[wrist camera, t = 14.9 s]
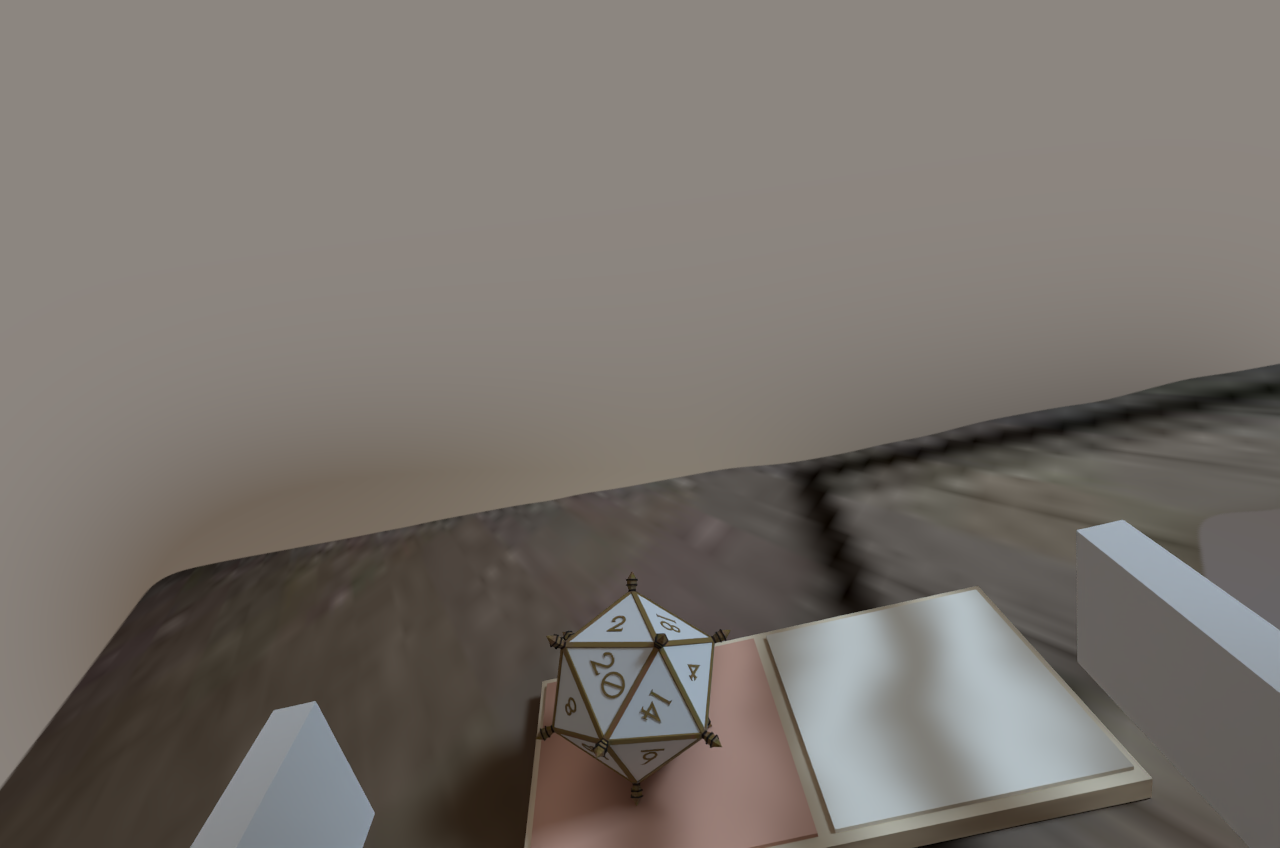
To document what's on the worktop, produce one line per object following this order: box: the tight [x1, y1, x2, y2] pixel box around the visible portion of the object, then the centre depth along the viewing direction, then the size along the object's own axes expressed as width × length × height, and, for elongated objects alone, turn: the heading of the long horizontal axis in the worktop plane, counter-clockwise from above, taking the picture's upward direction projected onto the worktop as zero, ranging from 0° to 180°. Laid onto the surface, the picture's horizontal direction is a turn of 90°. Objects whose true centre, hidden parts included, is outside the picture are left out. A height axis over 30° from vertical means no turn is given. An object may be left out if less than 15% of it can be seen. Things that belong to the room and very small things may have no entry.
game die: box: [535, 572, 730, 806], centre depth 31 cm, size 9×8×10 cm
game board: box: [524, 586, 1152, 848], centre depth 33 cm, size 25×13×1 cm, turn 93°
